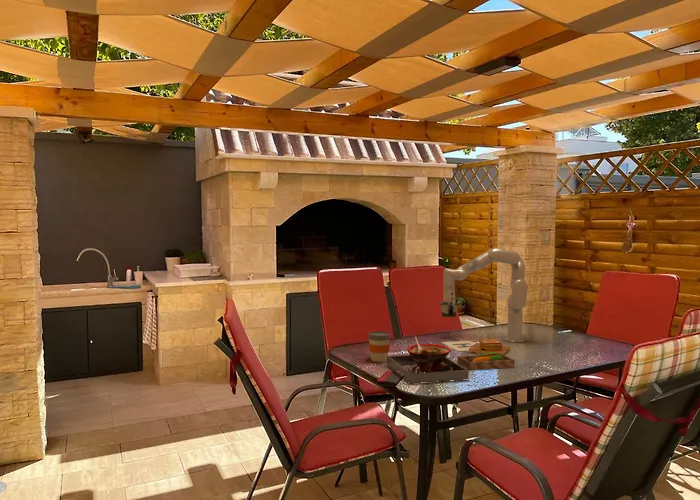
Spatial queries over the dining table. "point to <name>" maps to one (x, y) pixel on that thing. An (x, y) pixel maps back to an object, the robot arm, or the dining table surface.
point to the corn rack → (485, 362)
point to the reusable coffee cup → (379, 345)
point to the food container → (446, 309)
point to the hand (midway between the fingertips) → (448, 313)
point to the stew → (429, 357)
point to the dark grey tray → (455, 374)
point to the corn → (488, 357)
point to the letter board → (459, 345)
